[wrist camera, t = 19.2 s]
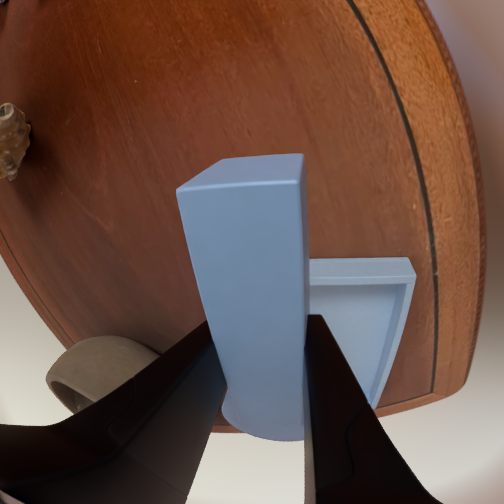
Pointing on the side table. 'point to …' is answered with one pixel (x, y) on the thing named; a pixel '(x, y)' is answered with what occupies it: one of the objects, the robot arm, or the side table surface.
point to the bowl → (96, 369)
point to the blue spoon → (254, 284)
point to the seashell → (12, 140)
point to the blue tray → (364, 312)
